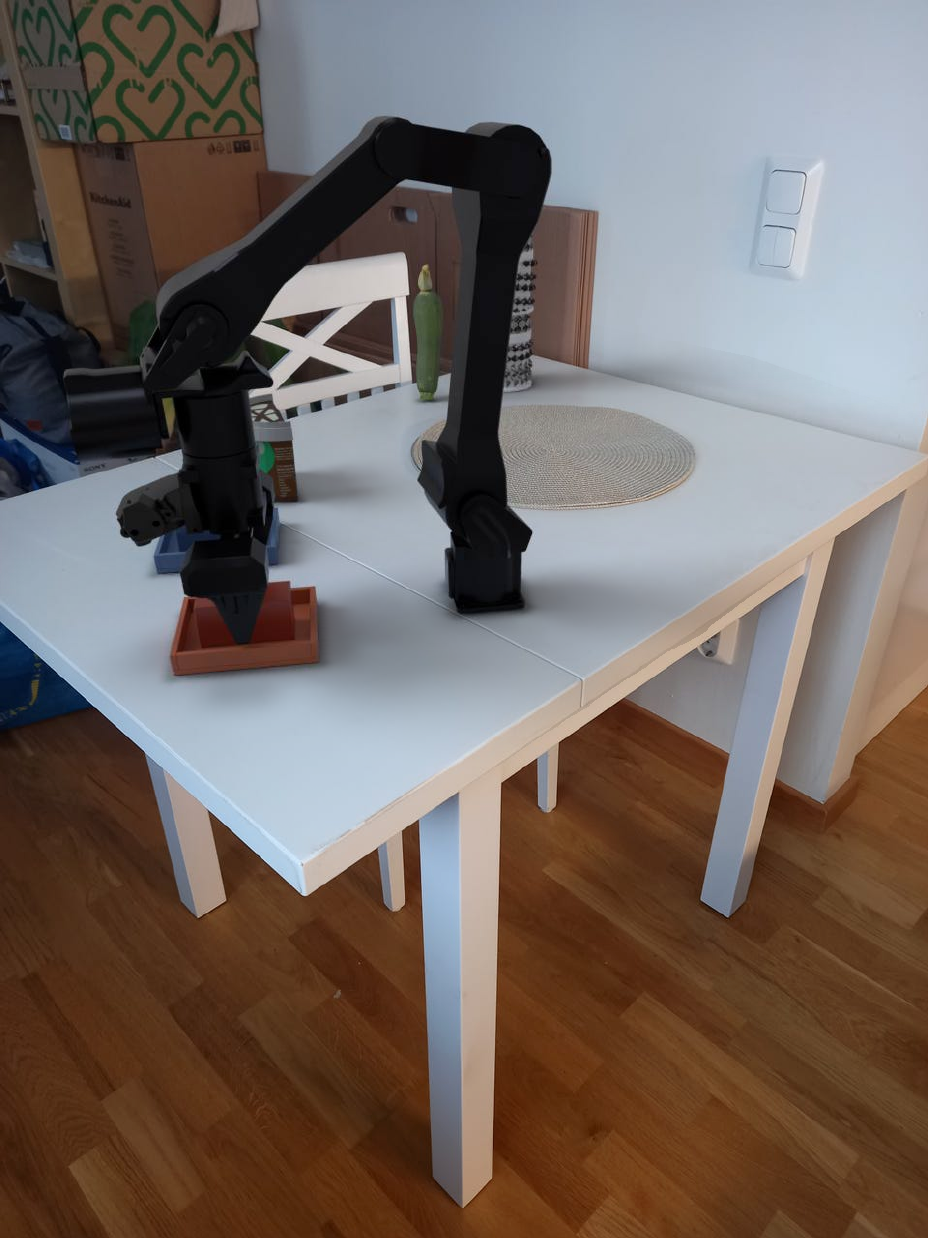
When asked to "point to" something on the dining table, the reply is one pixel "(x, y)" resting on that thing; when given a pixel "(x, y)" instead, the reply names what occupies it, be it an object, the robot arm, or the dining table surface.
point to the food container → (274, 447)
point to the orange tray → (253, 655)
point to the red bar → (270, 622)
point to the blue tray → (172, 559)
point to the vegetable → (427, 335)
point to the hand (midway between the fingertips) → (246, 615)
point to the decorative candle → (521, 326)
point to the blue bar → (191, 538)
